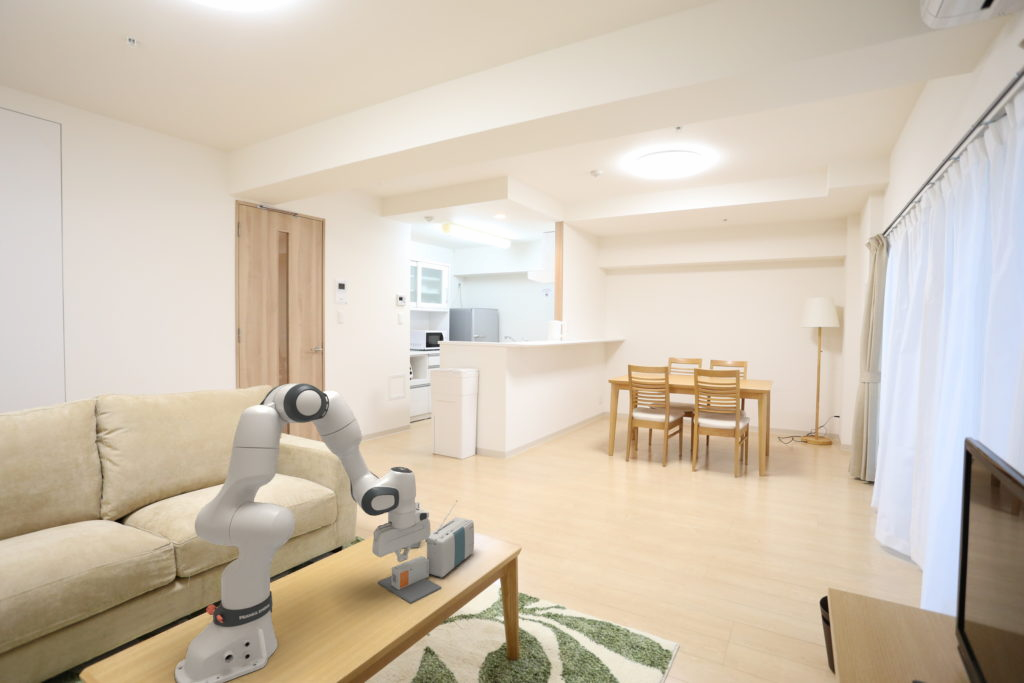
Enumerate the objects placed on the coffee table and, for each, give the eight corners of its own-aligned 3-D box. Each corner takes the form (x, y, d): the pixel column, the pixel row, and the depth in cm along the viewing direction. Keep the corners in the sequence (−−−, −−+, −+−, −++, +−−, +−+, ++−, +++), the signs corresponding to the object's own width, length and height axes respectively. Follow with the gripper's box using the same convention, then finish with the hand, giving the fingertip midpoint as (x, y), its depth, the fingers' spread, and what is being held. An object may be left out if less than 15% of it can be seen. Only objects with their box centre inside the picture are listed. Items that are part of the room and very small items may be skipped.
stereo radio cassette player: (443, 580, 164) (443, 521, 164) (423, 575, 168) (423, 517, 167) (475, 554, 183) (475, 501, 183) (456, 550, 187) (456, 498, 186)
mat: (410, 603, 150) (410, 602, 150) (377, 583, 162) (377, 581, 162) (441, 588, 159) (441, 586, 159) (407, 570, 171) (407, 568, 171)
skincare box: (398, 572, 157) (429, 559, 165) (391, 567, 160) (421, 554, 168) (398, 590, 157) (429, 576, 166) (391, 585, 160) (421, 572, 169)
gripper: (379, 530, 149) (380, 575, 149) (433, 511, 164) (433, 552, 164) (368, 524, 153) (368, 568, 153) (421, 506, 168) (421, 546, 168)
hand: (402, 560), depth 159 cm, fingers closed
